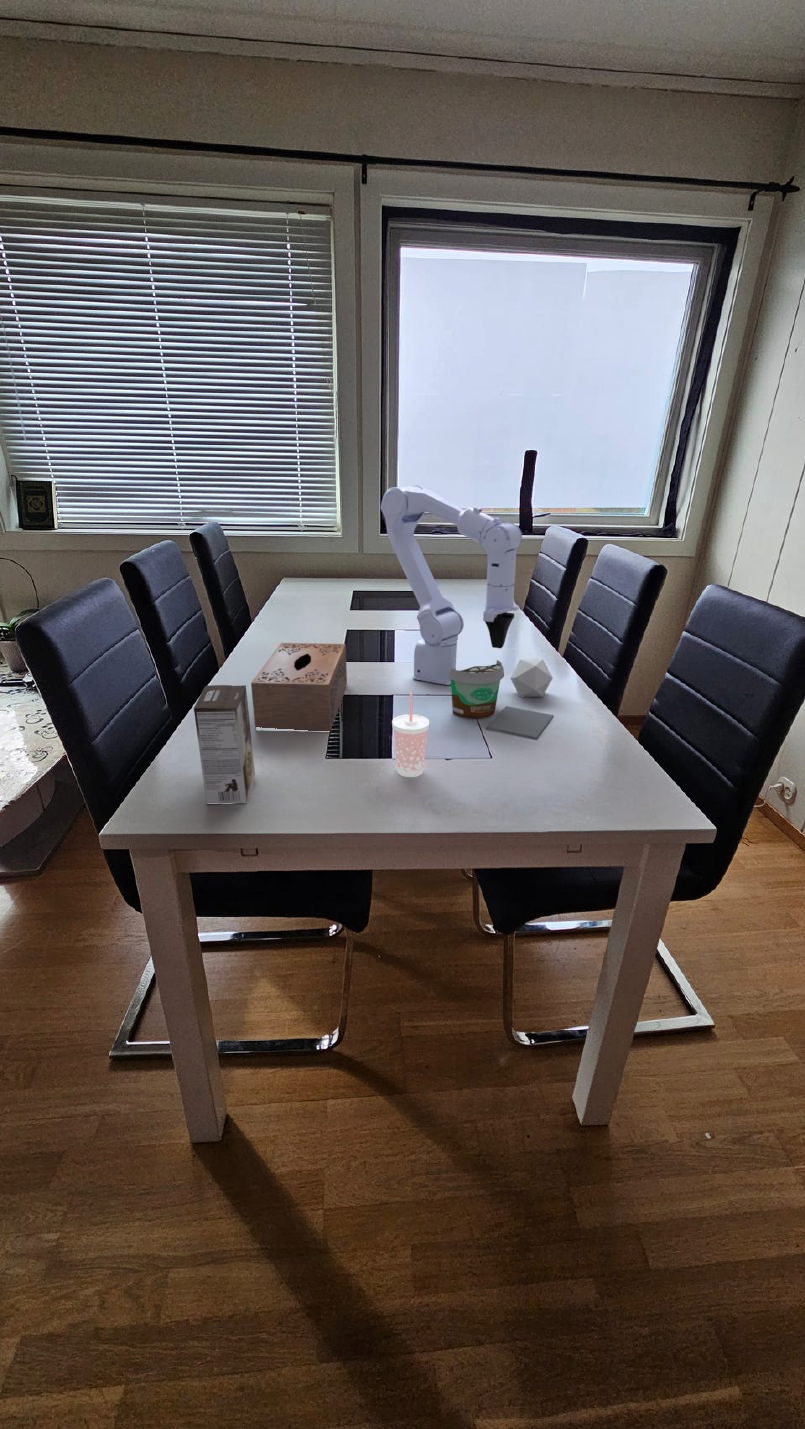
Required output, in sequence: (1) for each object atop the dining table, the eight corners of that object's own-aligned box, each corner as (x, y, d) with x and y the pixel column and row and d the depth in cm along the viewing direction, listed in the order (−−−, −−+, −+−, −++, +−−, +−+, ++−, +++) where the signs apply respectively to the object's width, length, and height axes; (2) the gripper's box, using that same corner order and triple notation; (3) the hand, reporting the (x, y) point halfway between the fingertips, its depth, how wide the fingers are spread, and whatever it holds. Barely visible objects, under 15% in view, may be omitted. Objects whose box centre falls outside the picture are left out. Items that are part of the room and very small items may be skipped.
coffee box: (216, 776, 101) (204, 684, 95) (256, 775, 102) (247, 683, 96) (204, 806, 93) (191, 707, 87) (248, 804, 94) (238, 706, 87)
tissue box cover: (284, 684, 142) (281, 642, 138) (347, 686, 141) (345, 644, 137) (255, 732, 118) (251, 683, 114) (330, 733, 118) (328, 684, 114)
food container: (462, 725, 121) (465, 677, 117) (446, 714, 126) (448, 668, 122) (513, 714, 126) (517, 668, 122) (496, 704, 131) (499, 659, 127)
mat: (486, 728, 120) (486, 726, 120) (505, 707, 129) (506, 705, 129) (536, 739, 116) (536, 737, 115) (553, 716, 125) (553, 714, 125)
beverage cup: (430, 778, 101) (432, 699, 96) (393, 779, 101) (393, 700, 95) (426, 761, 107) (428, 685, 101) (390, 762, 106) (390, 686, 101)
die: (540, 707, 131) (564, 669, 131) (506, 686, 131) (530, 647, 131) (531, 706, 140) (554, 670, 139) (499, 686, 139) (522, 650, 139)
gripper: (508, 592, 121) (504, 658, 126) (529, 579, 133) (525, 640, 138) (474, 589, 124) (472, 654, 129) (497, 577, 136) (495, 637, 141)
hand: (497, 647), depth 134 cm, fingers closed
